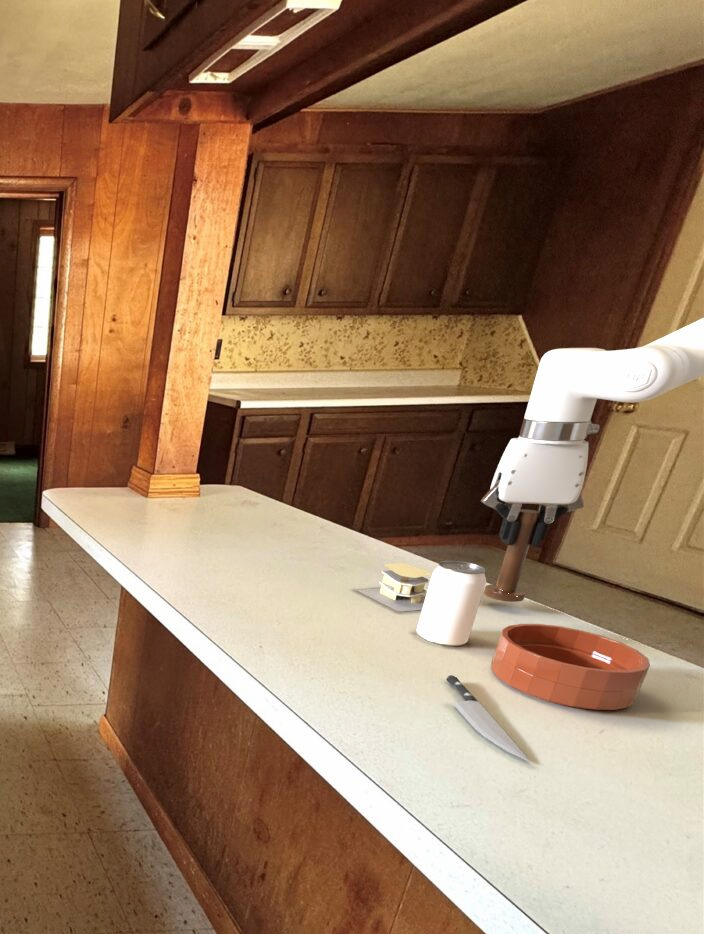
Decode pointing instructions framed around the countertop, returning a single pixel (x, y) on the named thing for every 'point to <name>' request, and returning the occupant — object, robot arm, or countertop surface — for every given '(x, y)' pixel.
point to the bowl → (569, 666)
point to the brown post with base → (514, 561)
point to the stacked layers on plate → (401, 587)
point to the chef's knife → (483, 720)
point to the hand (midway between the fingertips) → (519, 542)
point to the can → (451, 603)
